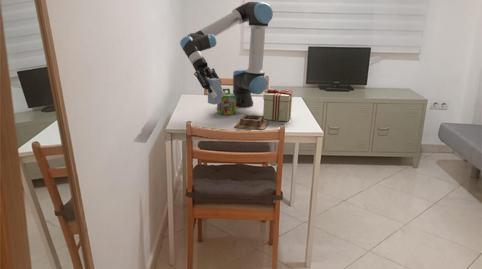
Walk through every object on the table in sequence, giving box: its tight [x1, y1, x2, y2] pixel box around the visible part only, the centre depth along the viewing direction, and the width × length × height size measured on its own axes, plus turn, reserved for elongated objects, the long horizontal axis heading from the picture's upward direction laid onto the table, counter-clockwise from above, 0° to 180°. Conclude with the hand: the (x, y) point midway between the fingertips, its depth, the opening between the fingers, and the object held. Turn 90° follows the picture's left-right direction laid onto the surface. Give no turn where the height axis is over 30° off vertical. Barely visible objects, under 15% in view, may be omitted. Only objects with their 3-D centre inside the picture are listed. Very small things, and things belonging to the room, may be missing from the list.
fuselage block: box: [207, 78, 222, 105], centre depth 236 cm, size 5×5×13 cm
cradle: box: [234, 113, 270, 131], centre depth 243 cm, size 16×16×4 cm
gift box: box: [262, 87, 294, 122], centre depth 259 cm, size 17×18×17 cm
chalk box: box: [216, 88, 237, 116], centre depth 265 cm, size 9×9×15 cm
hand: (219, 96), depth 234 cm, fingers closed on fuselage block, 5 cm apart
